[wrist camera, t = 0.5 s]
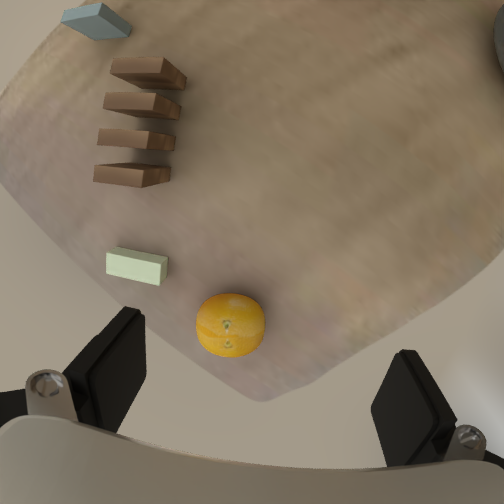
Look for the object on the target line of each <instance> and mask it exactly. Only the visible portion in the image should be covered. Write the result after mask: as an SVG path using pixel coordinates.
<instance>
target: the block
mask: <svg viewBox="0 0 504 504" xmlns="http://www.w3.org/2000/svg"><path fill="white" fill-rule="evenodd" d="M167 265H168V257H165V256H160V255H155V254H150V253H145V252H140V251H135V250H130V249H126V248H121V247H115V248H113V249H112V250H110V251H109V252H107V259H106V273H107V274H111V275H115V276H119V277H123V278H128V279H132V280H136V281H141V282H145V283H149V284H154V285H158V286H160V284H161V283H162V282H163V281H164V280H165V279H166V278H167Z"/></svg>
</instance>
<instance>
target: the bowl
mask: <svg viewBox="0 0 504 504" xmlns="http://www.w3.org/2000/svg"><path fill="white" fill-rule="evenodd" d="M494 43H495V48H496V53H497V57H498V60H499V63H500V66H501V68H502V70H503V73H504V4H503V5H502V7H501V8H500V9H499V11H498V13H497V16H496V19H495V22H494Z"/></svg>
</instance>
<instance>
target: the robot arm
mask: <svg viewBox="0 0 504 504" xmlns="http://www.w3.org/2000/svg"><path fill="white" fill-rule="evenodd" d="M145 377H146V345H145V316H144V315H143V314H141V311H140V310H139V309H135V308H130V307H126V306H125V307H123V309H122V310H121V311H120V312H119V313H118V314H117V315H116V316H115V317H114V318H113V319H112V320H111V321H110V323H109V324H108V325H107V326H106V327H105V328H104V329H103V330H102V331H101V332H100V333H99V335H96V336H95V337H94V338H93V339H92V340H91V341H90V342H89V343H88V344H87V345H86V346H85V347H84V349H83V350H82V351H81V352H80V353H79V354H78V355H77V356H76V358H75V359H74V360H73V361H72V362H71V363H70V364H69V365H68V367H67V368H66V369H65V370H64V371H63V372H62V373H60V372H58V371H55V370H50V369H45V370H40V371H37V372H35V373H33V374H32V375H30V376H29V377H28V379H27V381H26V385H25V389H20V390H14V391H7V392H0V504H504V459H503V458H501V457H499V456H497V455H495V454H493V453H491V452H489V451H487V450H485V449H486V439H485V436H484V435H483V433H482V432H481V431H480V430H479V429H477V428H476V427H474V426H471V425H461V426H459V427H457V428H456V426H455V423H456V421H457V418H456V416H455V414H454V413H453V411H452V409H451V408H450V406H449V404H448V402H447V401H446V399H445V397H444V395H443V394H442V392H441V390H440V389H439V387H438V385H437V384H436V382H435V380H434V379H433V377H432V375H431V374H430V372H429V370H428V369H427V367H426V366H425V364H424V362H423V361H422V359H421V358H420V356H419V355H418V353H417V352H416V351H415V350H404V349H402V350H401V351H400V352H399V353H396V354H395V356H394V358H393V360H392V363H391V365H390V367H389V369H388V371H387V374H386V376H385V378H384V380H383V382H382V385H381V386H380V389H379V391H378V393H377V395H376V397H375V399H374V401H373V403H372V405H371V414H372V417H373V420H374V423H375V427H376V430H377V433H378V437H379V440H380V443H381V447H382V450H383V454H384V457H385V461H386V464H387V467H382V468H365V469H364V468H363V469H313V468H292V467H280V466H269V465H260V464H251V463H244V462H237V461H230V460H223V459H218V458H212V457H207V456H202V455H197V454H192V453H187V452H183V451H179V450H174V449H170V448H166V447H162V446H158V445H155V444H151V443H147V442H143V441H140V440H136V439H133V438H130V437H126V436H123V435H120V434H116V433H117V431H118V428H119V427H120V425H121V423H122V421H123V419H124V418H125V416H126V414H127V412H128V410H129V408H130V406H131V404H132V403H133V401H134V399H135V397H136V395H137V393H138V391H139V390H140V388H141V386H142V384H143V382H144V380H145Z"/></svg>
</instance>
